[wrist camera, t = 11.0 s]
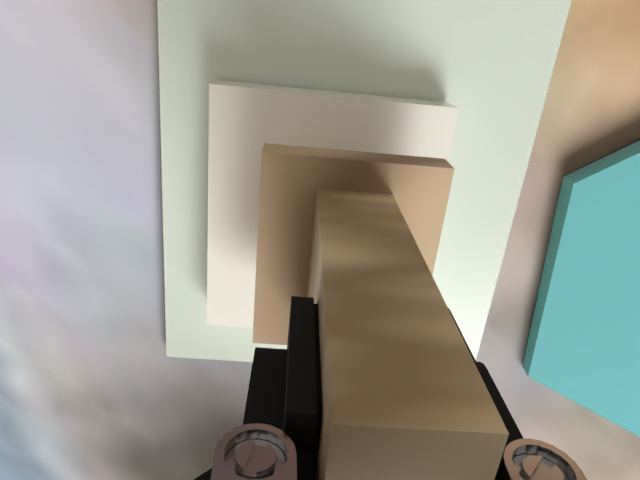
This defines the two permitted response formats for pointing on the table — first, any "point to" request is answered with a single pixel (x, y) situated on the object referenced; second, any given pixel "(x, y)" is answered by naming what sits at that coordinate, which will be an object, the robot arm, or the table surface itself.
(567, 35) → the table surface
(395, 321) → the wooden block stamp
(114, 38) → the table surface
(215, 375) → the table surface
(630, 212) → the plaque
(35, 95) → the table surface
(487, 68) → the board
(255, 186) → the tile
